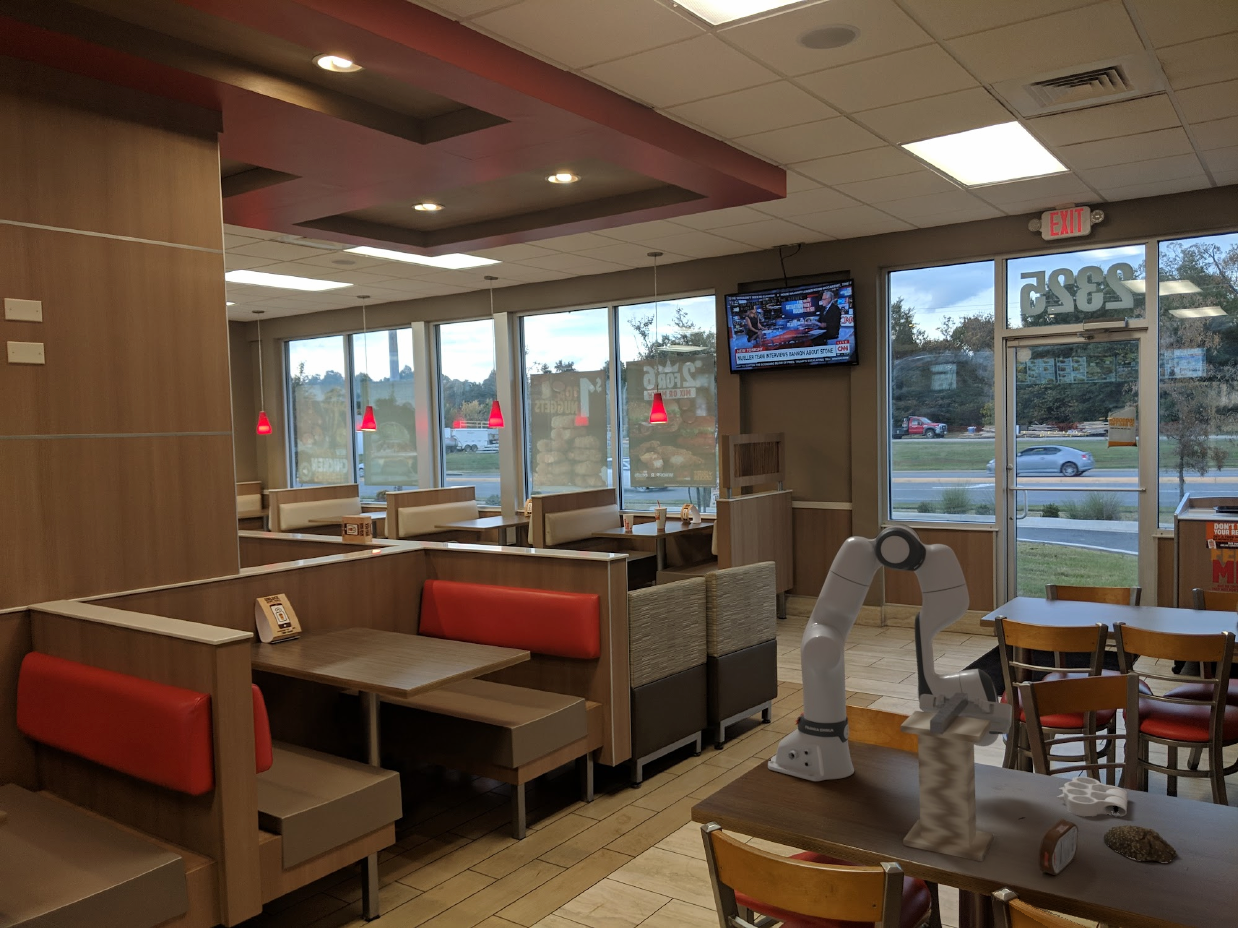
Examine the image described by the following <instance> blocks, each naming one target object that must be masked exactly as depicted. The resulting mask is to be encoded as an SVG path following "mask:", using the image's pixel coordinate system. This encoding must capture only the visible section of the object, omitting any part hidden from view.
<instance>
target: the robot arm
mask: <svg viewBox="0 0 1238 928" xmlns="http://www.w3.org/2000/svg"><path fill="white" fill-rule="evenodd" d="M882 566H884V567H885V568H887V569H890V570H894V571H907V572H913V573H914V574H915V576H916V577H917V580H918V584H919V587H920V592H921V598H922V604H921V607H920V611H919V612H918V613H916V614H915V619H914V643H915V644H914V645H915V656H916V668H917V669H916V670H917V699H918V703H919V704H918V706H919V709H920V711H921V712H929V713H938V712H939V711H940V709H941V708H942V707H943V706H944V705H945V704H946V703H947V702H948V701H949V700H950V699H951V698H952V697H953V695H954V694H955V693H956V692H958V693H967V694H968V705H967V706H966V707H965V709H964V710H963V711H962V712H961V713H960V714H959V716H960V717H968V718H976V719H983V720H991V727H990V728H989V730H988V731H987V733H986V734H985V735H984V737H983V738H982V740H981V741H980V742H979V743H974V746H978V747H988V746H990V745H992V744H994V743H995V742H996V741H997V740H998V738H999V735H1008V734H1009V731H1010V728H1011V727H1012V715H1013V713H1012V712H1013V707H1012V705H1011V704H1009V703H1005V702H999V695H998V692H997V688H996V685H995V684H994V682H993V680H992V678H991V676H990V675H989V674H988V673H987V672H985V671H984V670H983V669H980V668H972V669H966V670H965V669H964V670H960V671H955V672H950V673H949V672H948V673H942V674H938V673H936V671H935V661H934V648H933V647H934V646H933V641H934V639H935V637H936V636H937V635H938V634H939V633H940V632H941V631H943V630H945V629H946V628H948V627H950V626H951V625H953V624H954V623H957V621H959V620H960V619H961V618H963V617H964V615H965V614H966V613H967V612H968V609H969V606H970V595H969V589H968V586H967V581H966V578H965V575H964V573H963V572H964V571H963V569H962V566H961V564H960V562H959V560H958V557H957V555H956V554H955V551H954V550H953V549H952V547H950V546H949V545H946V544H942V543H932V544H926V543H923V542H922V540H921V537H920V534H918V532H917V531H916V530H915V529H914V528H912V527H911V526H909V525H907V524H901V523H899V524H898V523H896V524H891V525H889V526H887V527H884V529H883V530H882V531H880V533H879V534H877V535H876V536H875V537H873V538H872V539H870V538H866V537H864V536H857V535H855V536H850V537H848V538H847V539H846V540H845V541H844V542H843V543H842V545H841V547H840V548H839V550H838V551H837V554H836V555H835V556H834V559H833V561H832V563H831V566H830V568H829V570H828V574H827V576H826V578H825V581H824V583H823V586H822V587H821V591H820V593H819V595H818V597H817V600H816V603H815V605H814V607H813V610H812V612H811V614H810V616H809V619H808V622H807V624H806V627H805V629H804V631H803V635H802V640H801V643H800V665H801V668H800V669H801V678H802V679H801V680H802V696H803V697H802V699H803V700H802V703H803V705H802V706H803V711H802V712H801V713H800V714H799V715H800V716H798V717H797V718H796V720H795V721H794V722H795V724H794V725H795V726H796V725H797V728H796V729H794V730H793V731H791V732H790V733H789V734H787V735H786V736H785V737H784V738H782V739H781V740H780V741H779V743H778V745H777V749H776V753H775V755H773V756H772V757H771V758H770V759H771V761H769V760H768V762H767V768H768V770H770V771H774V772H777V773H778V772H779V773H781V774H784V775H785V774H786V775H790V776H793V777H796V778H801V779H805V780H808V781H811V782H821V781H825V780H837V779H838V780H839V779H843V778H847V777H849V776H850V777H851V775H853V774H854V772H855V768H854V765H853V763H852V762H853V761H852V759H851V753H850V748H849V741H848V740H849V736H850V728H849V727H850V725H849V718H848V716H847V702H846V699H847V698H846V697H847V694H846V690H847V689H846V674H845V673H846V672H845V671H846V668H845V647H846V646H845V645H846V643H847V639H848V637H849V635H850V634H851V632H852V631H851V630H852V629H853V627H854V624H855V622H856V620H857V618H858V616H859V614H860V613H861V612H860V611H861V610H862V608H863V605H864V603H865V602H864V601H865V599H866V597H867V595H868V592H869V590H870V587H871V585H872V582H873V581H874V577H875V576H876V575H875V574H876V573H877V571H878V570H879V569H880V568H881V567H882Z"/></svg>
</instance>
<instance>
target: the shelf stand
mask: <svg viewBox="0 0 1238 928" xmlns="http://www.w3.org/2000/svg"><path fill="white" fill-rule="evenodd" d="M936 714H937V713H929V712H923V711H922V710H915V711H913V712H912V713H911V715H910V716H908V717H907V718H906V719H905V720H904V721H903V723H901V724H900V726H899V727H900V733H906V734H913V735H917V743H918V744H917V746H918V747H917V749H918V782H919V783H918V784H919V785H918V786H919V790H918V791H919V793H918V794H919V818H920V819H919V818H918V819H917V821H916V822H915V823H914V824H913V826H912V827H911V829H909V831H908V833H907V834H906V835H905V837H903V841H902V842H903V846H906V847H910V848H914V849H915V848H916V849H920V850H925V851H930V852H934V853H939V854H944V855H948V856H954V857H958V858H963V859H968V860H973V861H978V862H982V861H984V858H985V856H986V855H987V853H988V850H989V848H990V846H991V845H992V843H993V841H994V833H992V832H991V833H990V832H986V831H982V830H981V831H980V830H977V816H976V815H977V813H976V810H977V809H976V807H977V806H976V773H975V771H976V770H975V767H976V766H975V765H976V764H975V745H974V743H979V742H980V741H981V740H982V738H983V737H984V735H985V734H986V733H987V731H988V730H989V728H990V727H991V720H983V719H976V718H968V717H960V716H958V717H957V718H956V719H955V720H954V722H953V723H952V724H951V725H950V726H949V727H948V729H947V730H946V731H945V732H944V733H943V734H936V733H930V720H931V719H932V718H933V717H934V716H935V715H936Z"/></svg>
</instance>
